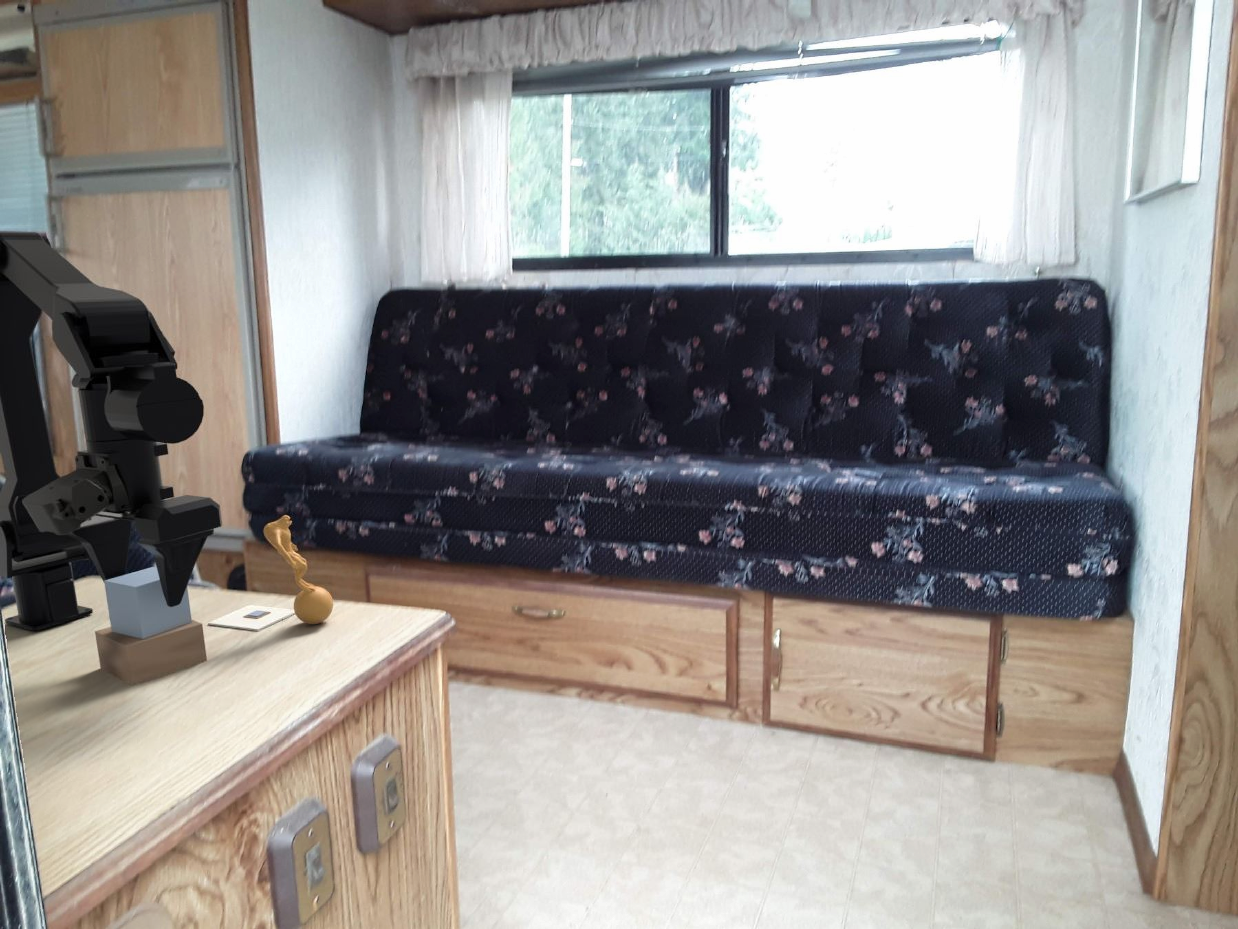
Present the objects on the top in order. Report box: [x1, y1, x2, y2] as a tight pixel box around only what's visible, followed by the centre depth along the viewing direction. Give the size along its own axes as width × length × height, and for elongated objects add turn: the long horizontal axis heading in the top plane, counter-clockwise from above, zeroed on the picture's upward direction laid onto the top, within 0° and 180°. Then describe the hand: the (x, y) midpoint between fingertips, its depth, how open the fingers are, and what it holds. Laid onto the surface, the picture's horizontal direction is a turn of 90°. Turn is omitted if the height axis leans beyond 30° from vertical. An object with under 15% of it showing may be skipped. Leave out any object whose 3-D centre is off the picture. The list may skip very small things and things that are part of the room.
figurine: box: [263, 514, 334, 625], centre depth 98 cm, size 8×6×12 cm
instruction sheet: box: [207, 604, 296, 632], centre depth 102 cm, size 7×6×1 cm
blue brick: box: [103, 566, 193, 639], centre depth 89 cm, size 5×5×5 cm
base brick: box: [94, 619, 208, 686], centre depth 90 cm, size 7×7×4 cm
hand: (144, 599), depth 89 cm, fingers open, 9 cm apart
